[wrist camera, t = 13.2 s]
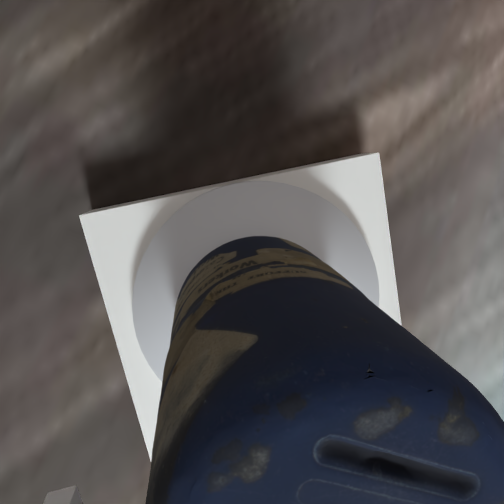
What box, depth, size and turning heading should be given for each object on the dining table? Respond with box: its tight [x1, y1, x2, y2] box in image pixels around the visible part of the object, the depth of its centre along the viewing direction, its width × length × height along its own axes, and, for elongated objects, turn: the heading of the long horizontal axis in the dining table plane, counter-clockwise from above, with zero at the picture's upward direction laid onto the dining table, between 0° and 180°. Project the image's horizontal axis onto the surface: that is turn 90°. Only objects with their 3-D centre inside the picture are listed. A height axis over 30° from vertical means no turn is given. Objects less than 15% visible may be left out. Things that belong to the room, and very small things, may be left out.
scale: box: [79, 153, 402, 460], centre depth 26 cm, size 18×18×9 cm
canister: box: [146, 236, 504, 504], centre depth 17 cm, size 10×10×18 cm
